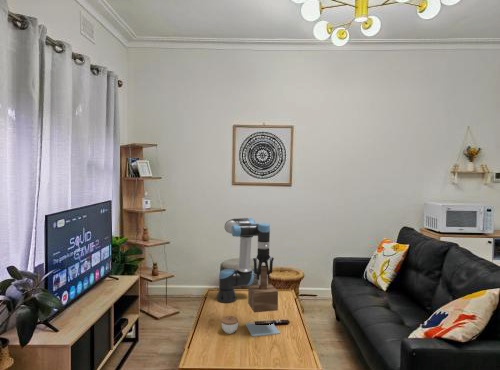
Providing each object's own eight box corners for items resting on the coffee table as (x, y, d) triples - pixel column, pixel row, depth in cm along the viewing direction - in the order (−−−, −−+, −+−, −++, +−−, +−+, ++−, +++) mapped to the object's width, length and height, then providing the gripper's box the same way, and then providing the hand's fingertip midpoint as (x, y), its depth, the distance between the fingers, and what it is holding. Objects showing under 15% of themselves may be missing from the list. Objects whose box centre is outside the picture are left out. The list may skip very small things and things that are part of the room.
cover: (248, 303, 234) (248, 264, 232) (270, 301, 237) (271, 262, 236) (254, 312, 219) (254, 270, 218) (277, 310, 223) (278, 269, 221)
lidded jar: (229, 326, 232) (229, 312, 232) (241, 331, 225) (241, 316, 225) (217, 331, 224) (217, 317, 224) (230, 337, 217) (230, 322, 217)
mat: (245, 324, 235) (245, 323, 235) (271, 321, 240) (271, 320, 240) (252, 336, 218) (252, 335, 218) (280, 333, 222) (280, 332, 222)
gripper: (251, 249, 221) (251, 287, 222) (278, 248, 225) (277, 285, 226) (248, 247, 228) (248, 283, 229) (274, 246, 232) (273, 281, 233)
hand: (262, 284), depth 228 cm, fingers closed on cover, 4 cm apart
